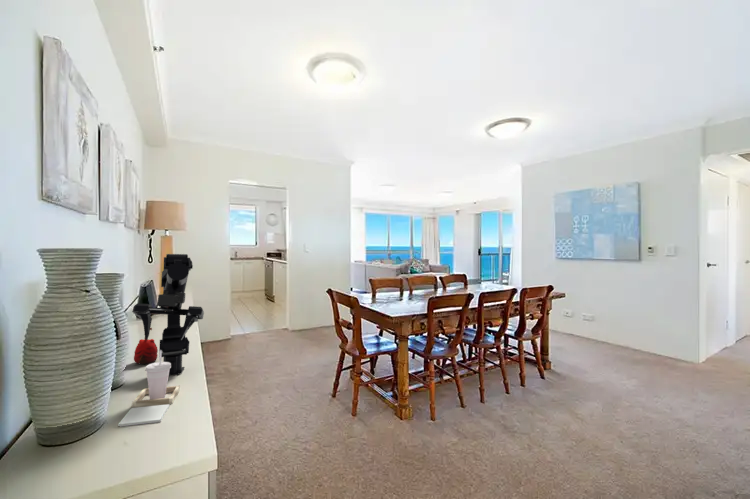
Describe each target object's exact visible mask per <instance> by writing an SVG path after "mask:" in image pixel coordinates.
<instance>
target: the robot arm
mask: <svg viewBox="0 0 750 499" xmlns="http://www.w3.org/2000/svg"><path fill="white" fill-rule="evenodd" d="M193 266H194V265H193V261H192V260H191V257H189V255H188V254H185V253H183V254H182V253H166V256H164V257H163V270H162V271H161V280H160V282H161V286H160V287H161V288H162V291H163V292H162V294H158V296H157V297H158V298H157V302H156V303H157V304H156V306H158V307H153V306H152V305H151V304H150V303H136V304H134V305H133V307H132V308H133V309H132V313H133V314H134V315H135V316H136V317H138V318H139V319H140V320H142V324H143V331H144V332H143V333H144V334H145V335H144V338H145V339H148V338H149V336H150V332H151V330H150V328H152V327H151V326H152V321H153V318H152V315H167V318H166V319H167V324H166V325H167V326H166V327H165V328H164V329H163V332H162V333H161V335H162V337H161V339H159V348H158V349H159V350H158V352H160V350H162V358H163V360H162V362H169V363H171V368H170V370H169V376H171V375H173V376H174V375H181V374H182V373H183V372H184V370H185V366H183V355H184V356H186V355H187V354H189V353H190V351H189V350H190V340H189V339H188V337H187V336H186V335H187V332H188V330H189V329H190V328H191V327H192V326H193V324H194V323H195V322H196V323H197V322H199V320H203V319H204V314H205V312H204V309H203V307H202V306H193V305H191V306H190V305H189V306H188V308H187V309H186V308H182V305H183V304H184V303H185V302H186V293H185V292H186V287H187V282H188V279H189V278H188V277H189V273H190V271H191V270H193V269H194V268H193ZM181 316H185V319H184V323H183V326H181ZM145 339H144V340H145ZM148 340H149V339H148Z"/></svg>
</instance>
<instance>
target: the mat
mask: <svg viewBox="0 0 750 499" xmlns="http://www.w3.org/2000/svg"><path fill="white" fill-rule="evenodd" d="M170 406H171V404H164V405H155V406H145V407H135V408H132V407H131V408H130V409H129V411H128V412H127V413H126V414H125V416H124V417H123V418H122V419H121V421H119V423H118V424H117V425H118V426H120V427H127V426H136V425H143V424H144V425H145V424H153V423H161V422H162V420H163V418H165V415H166V413H167V412H168V410H169V409H170ZM118 426H117V427H118Z"/></svg>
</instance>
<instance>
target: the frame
mask: <svg viewBox="0 0 750 499" xmlns="http://www.w3.org/2000/svg"><path fill="white" fill-rule="evenodd" d="M180 391H181V386H180V385H172V386H167V388H166V394H167V393H168V394H169V393H171V395H170V396H169V397H165V398H159V399H150V398H149V399H143V398H144V397H145V396H146V395H149V388H143V389H142V390H141V391H140V392H139V394H138V395H137V396H136V398H135V399H133V401H132V404H131V406H132V407H131V408H137V407H147V406H157V405H167V404H170V405H173V403H174V401H175V400H176V398H177V397H178V394H179V393H180Z"/></svg>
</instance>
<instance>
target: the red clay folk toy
mask: <svg viewBox="0 0 750 499" xmlns="http://www.w3.org/2000/svg"><path fill="white" fill-rule="evenodd" d="M152 330H153V328H152V327H150V331H152ZM143 335H144V336H145V333H144V334H143ZM158 349H159V348H158V346H157V344H156V342H155V339H154V338H150V339H145V337H144V339H139V341H138V343H137V345H136V347H135V350H134V355H133V361H134V363H136V364H137V365H149V364H152V363H155V362H156V361H157V359H158V356H159V355H158V352H159V350H158Z"/></svg>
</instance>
